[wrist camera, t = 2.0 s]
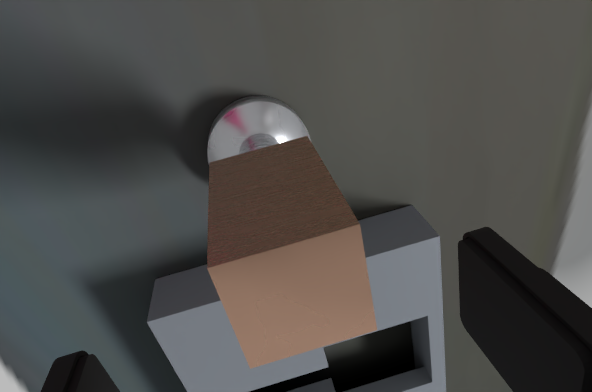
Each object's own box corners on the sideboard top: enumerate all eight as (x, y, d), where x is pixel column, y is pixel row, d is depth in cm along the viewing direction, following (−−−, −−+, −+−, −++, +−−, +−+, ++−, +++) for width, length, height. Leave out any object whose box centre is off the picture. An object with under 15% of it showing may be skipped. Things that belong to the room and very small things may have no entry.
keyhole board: (155, 279, 22) (146, 322, 19) (412, 205, 23) (439, 236, 20) (241, 443, 31) (244, 489, 28) (426, 385, 31) (447, 424, 29)
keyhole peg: (193, 110, 18) (171, 255, 9) (295, 83, 18) (382, 195, 9) (225, 199, 21) (235, 388, 11) (314, 174, 21) (399, 338, 11)
